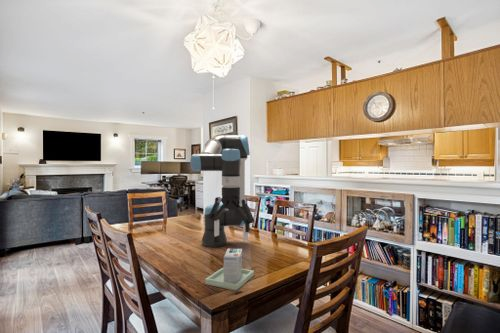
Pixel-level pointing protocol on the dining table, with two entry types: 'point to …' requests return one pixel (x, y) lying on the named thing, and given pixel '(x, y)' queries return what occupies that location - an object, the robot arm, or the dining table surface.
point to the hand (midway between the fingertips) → (230, 237)
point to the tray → (217, 281)
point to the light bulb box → (232, 265)
